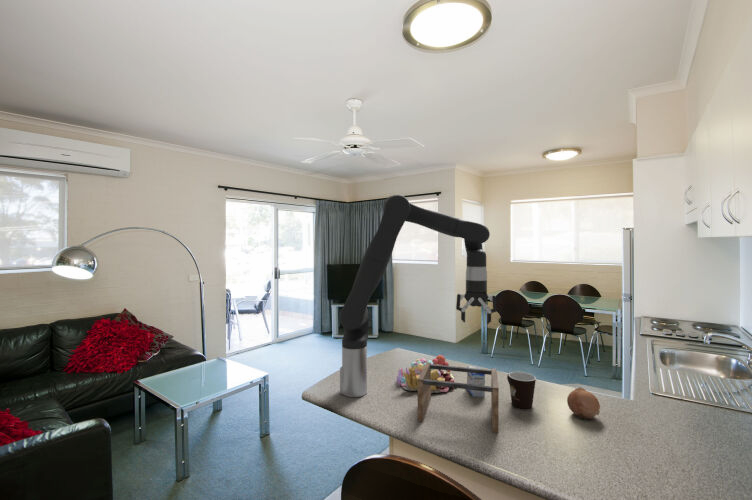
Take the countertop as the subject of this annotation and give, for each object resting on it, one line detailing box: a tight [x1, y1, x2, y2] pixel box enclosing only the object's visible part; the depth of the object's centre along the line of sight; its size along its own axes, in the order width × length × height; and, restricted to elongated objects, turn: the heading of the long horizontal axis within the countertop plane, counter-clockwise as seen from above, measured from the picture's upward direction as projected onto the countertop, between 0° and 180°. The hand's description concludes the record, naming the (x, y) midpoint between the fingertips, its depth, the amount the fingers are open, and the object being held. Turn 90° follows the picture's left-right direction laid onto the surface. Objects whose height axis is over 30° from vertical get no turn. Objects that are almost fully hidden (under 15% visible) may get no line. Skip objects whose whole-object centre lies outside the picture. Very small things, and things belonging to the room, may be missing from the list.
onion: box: [566, 386, 601, 420], centre depth 112 cm, size 9×9×10 cm
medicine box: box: [466, 365, 486, 398], centre depth 130 cm, size 8×4×9 cm, turn 1°
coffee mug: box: [506, 371, 537, 411], centre depth 121 cm, size 12×9×10 cm
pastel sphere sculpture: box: [396, 354, 456, 394], centre depth 141 cm, size 25×24×9 cm
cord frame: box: [417, 362, 500, 433], centre depth 114 cm, size 24×17×13 cm
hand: (476, 322), depth 130 cm, fingers open, 8 cm apart
